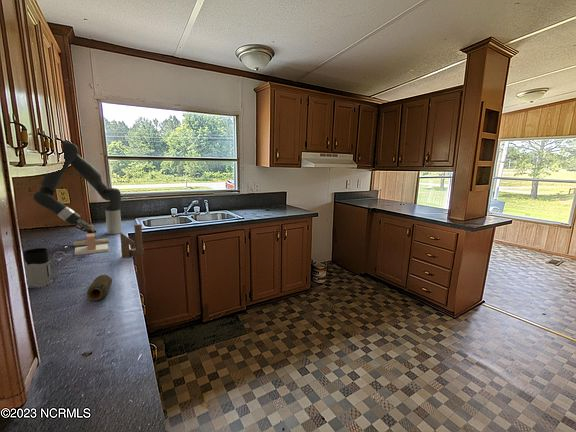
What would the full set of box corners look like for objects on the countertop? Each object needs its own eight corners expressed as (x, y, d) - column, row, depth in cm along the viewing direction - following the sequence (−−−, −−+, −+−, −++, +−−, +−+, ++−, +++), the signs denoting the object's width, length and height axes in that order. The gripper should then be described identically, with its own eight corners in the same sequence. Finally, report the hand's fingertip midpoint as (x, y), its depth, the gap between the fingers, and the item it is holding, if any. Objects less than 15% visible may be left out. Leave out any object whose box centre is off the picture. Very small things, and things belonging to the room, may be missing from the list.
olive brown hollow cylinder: (108, 300, 107) (107, 284, 106) (86, 304, 104) (85, 287, 103) (113, 285, 120) (112, 270, 119) (93, 287, 117) (92, 273, 116)
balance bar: (74, 243, 174) (72, 226, 172) (108, 240, 184) (106, 223, 182) (73, 245, 170) (72, 227, 168) (108, 242, 180) (107, 225, 178)
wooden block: (121, 256, 156) (119, 225, 153) (142, 253, 162) (141, 223, 159) (122, 258, 153) (120, 226, 150) (144, 254, 160) (142, 224, 156)
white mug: (29, 281, 120) (25, 248, 117) (70, 277, 126) (67, 245, 124) (22, 290, 112) (17, 255, 109) (66, 284, 119) (62, 251, 116)
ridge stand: (75, 249, 163) (73, 234, 161) (107, 246, 172) (106, 231, 171) (74, 255, 154) (73, 238, 153) (108, 251, 164) (107, 235, 162)
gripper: (71, 213, 164) (97, 231, 171) (77, 209, 176) (101, 226, 184) (60, 222, 162) (87, 240, 170) (67, 218, 175) (92, 235, 182)
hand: (94, 233), depth 177 cm, fingers closed on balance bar, 3 cm apart
